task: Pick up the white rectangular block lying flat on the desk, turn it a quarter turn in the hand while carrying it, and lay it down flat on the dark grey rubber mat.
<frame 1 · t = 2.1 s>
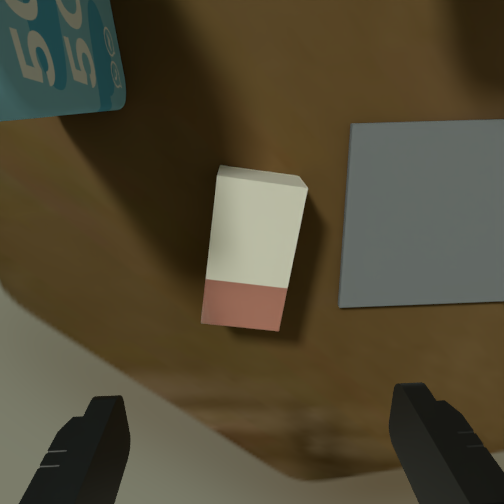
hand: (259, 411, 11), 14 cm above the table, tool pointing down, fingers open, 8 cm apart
white rectangular block: (249, 238, 24), on the table
mat: (452, 219, 24), on the table
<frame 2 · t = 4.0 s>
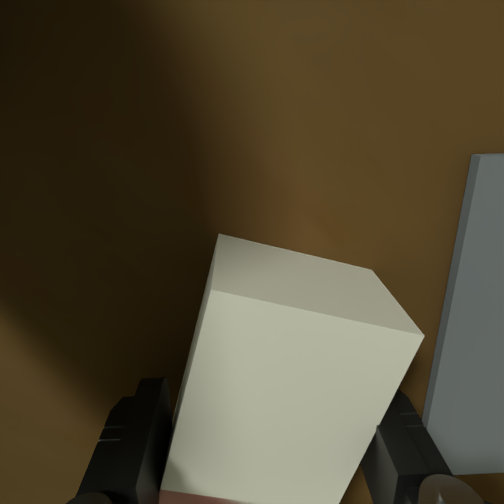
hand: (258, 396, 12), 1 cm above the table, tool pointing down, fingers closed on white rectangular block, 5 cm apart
white rectangular block: (257, 371, 13), on the table, touching gripper
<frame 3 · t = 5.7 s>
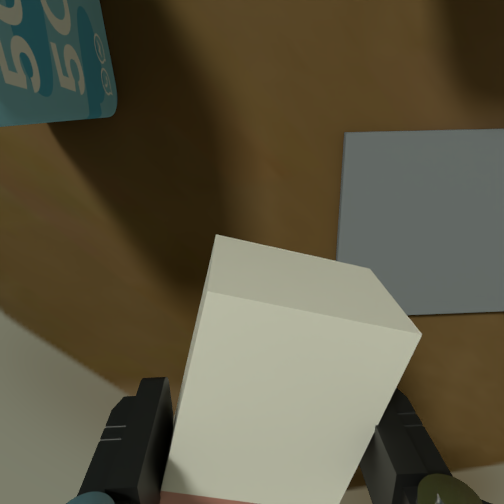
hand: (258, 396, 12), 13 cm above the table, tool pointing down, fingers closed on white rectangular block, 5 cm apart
white rectangular block: (257, 371, 13), point 12 cm above the table, touching gripper
mat: (446, 228, 24), on the table
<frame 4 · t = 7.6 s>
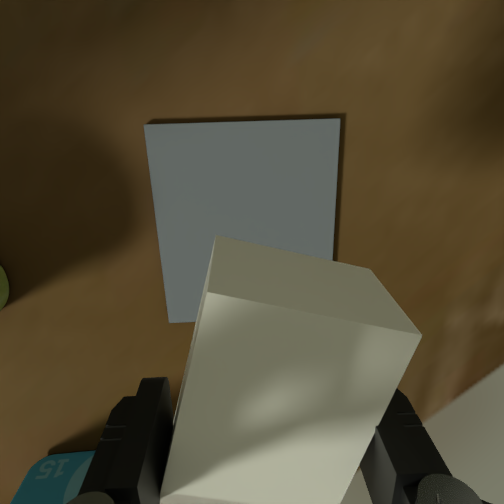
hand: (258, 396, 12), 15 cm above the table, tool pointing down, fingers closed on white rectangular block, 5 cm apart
data package: (110, 464, 34), on the table
white rectangular block: (257, 371, 13), point 14 cm above the table, touching gripper
mat: (246, 228, 26), on the table
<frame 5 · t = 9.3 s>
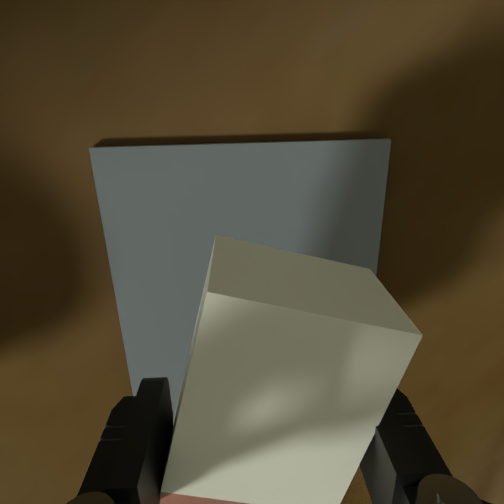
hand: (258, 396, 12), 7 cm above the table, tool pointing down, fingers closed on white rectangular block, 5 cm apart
white rectangular block: (257, 371, 13), point 6 cm above the table, touching gripper
mat: (246, 295, 18), on the table
when the fingers open (3 cm above the table, at t = 10.9 s): white rectangular block drops 1 cm, resting on mat.
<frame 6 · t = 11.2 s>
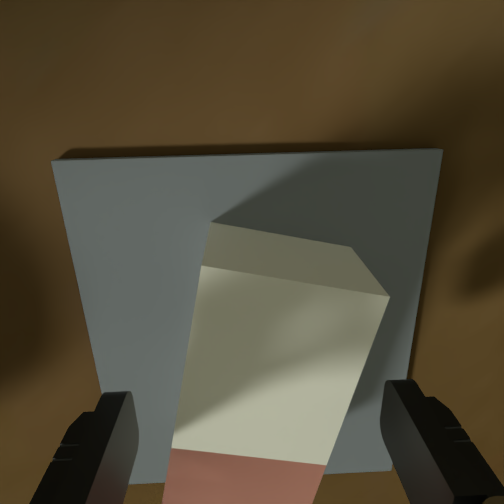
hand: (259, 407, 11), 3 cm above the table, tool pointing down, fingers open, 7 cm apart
white rectangular block: (255, 346, 14), resting on mat
mat: (254, 339, 14), on the table
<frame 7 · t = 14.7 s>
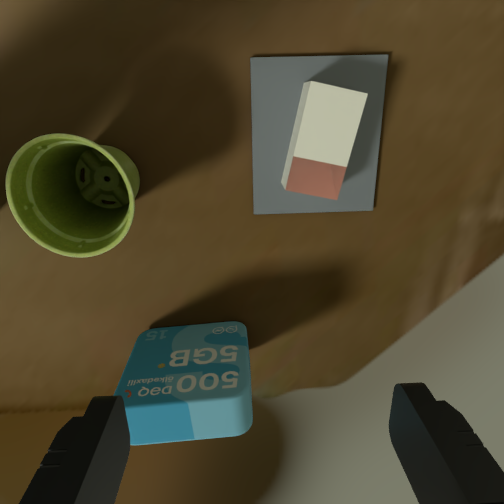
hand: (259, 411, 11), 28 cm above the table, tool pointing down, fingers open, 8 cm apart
data package: (196, 339, 44), on the table
white rectangular block: (316, 140, 35), resting on mat
mat: (315, 139, 36), on the table
plant pot: (108, 177, 36), on the table
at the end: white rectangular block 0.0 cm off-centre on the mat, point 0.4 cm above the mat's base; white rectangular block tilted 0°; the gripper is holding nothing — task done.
